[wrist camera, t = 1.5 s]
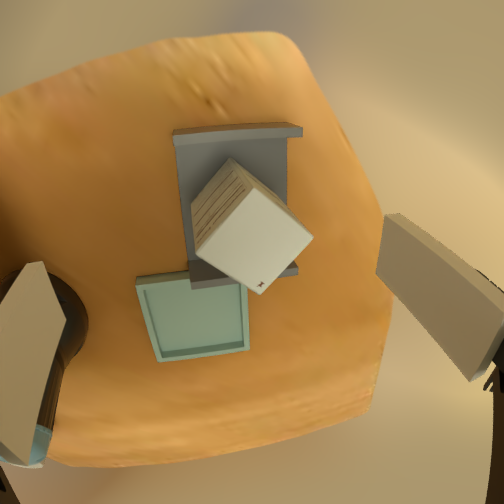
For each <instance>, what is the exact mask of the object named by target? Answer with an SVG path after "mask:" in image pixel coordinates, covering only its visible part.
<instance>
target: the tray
mask: <svg viewBox="0 0 504 504" xmlns="http://www.w3.org/2000/svg"><path fill="white" fill-rule="evenodd" d="M135 287H136V290H137V294H138V298H139V302H140V305H141V309H142V312H143V316H144V319H145V323H146V326H147V330H148V333H149V336H150V339H151V343H152V346H153V349H154V352H155V355H156V358H157V361H158V362H166V361H175V360H183V359H191V358H199V357H206V356H213V355H220V354H227V353H233V352H239V351H245V350H250V340H249V318H248V296H247V287H246V286H244V285H242V284H241V283H239V284H232V285H225V286H217V287H210V288H203V289H195V290H191V284H190V275H189V270H187V271H179V272H171V273H163V274H156V275H148V276H140V277H137V278H136V284H135Z"/></svg>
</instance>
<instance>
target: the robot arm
mask: <svg viewBox="0 0 504 504" xmlns="http://www.w3.org/2000/svg"><path fill="white" fill-rule="evenodd" d="M376 275H377V276H378V277H379V278H380V279H381V280H382V281H383V282H384V283H385V284H386V285H387V286H388V288H389V289H390V290H391V291H392V292H393V293H394V294H395V295H396V296H397V297H398V298H399V300H400V301H401V302H402V303H403V304H404V305H405V306H406V307H407V309H408V310H409V311H410V312H411V313H412V314H413V315H414V316H415V317H416V319H417V320H418V321H419V322H420V323H421V324H422V326H423V327H424V328H425V329H426V330H427V331H428V333H429V334H430V335H431V336H432V337H433V338H434V340H435V341H436V342H437V343H438V344H439V345H440V347H441V348H442V349H443V350H444V352H445V353H446V354H447V355H448V356H449V358H450V359H451V360H452V361H453V363H454V364H455V365H456V366H457V367H458V369H459V370H460V371H461V372H462V374H463V375H464V376H465V377H466V379H467V380H468V381H469V382H471V381H473V380H474V379H476V378H478V377H480V376H482V375H483V374H484V373H485V372H486V370H487V368H488V367H489V365H490V363H491V361H493V362H494V363H495V365H496V367H495V369H494V371H493V372H492V374H491V375H490V377H489V378H488V380H487V382H486V383H485V385H484V388H483V390H484V391H485V390H486V389H487V388H488V386H489V385H490V383H492V382H493V386H492V387H491V389H490V391H491V392H493V411H494V412H493V441H492V455H491V467H490V475H489V483H488V490H487V497H486V503H485V504H504V292H503V291H502V290H501V289H500V288H499V287H498V288H497V286H496V285H495V284H494V283H493V282H492V281H489V279H488V278H487V277H486V276H485V275H483V274H482V273H481V272H480V271H478V270H476V269H474V268H473V267H471V266H470V265H469V264H467V263H466V262H465V261H464V260H462V259H461V258H460V257H459V256H457V255H456V254H455V253H453V252H452V251H451V250H450V249H448V248H447V247H446V246H444V245H443V244H442V243H440V242H439V241H438V240H436V239H435V238H434V237H432V236H431V235H430V234H428V233H427V232H425V231H424V230H423V229H421V228H420V227H419V226H417V225H416V224H414V223H413V222H411V221H410V220H409V219H407V218H406V217H404V216H403V215H401V214H400V213H397V214H388V215H385V216H384V224H383V231H382V238H381V244H380V250H379V257H378V262H377V268H376ZM87 330H88V318H87V314H86V311H85V308H84V306H83V304H82V302H81V300H80V299H79V297H78V296H77V295H76V293H75V292H74V291H73V290H72V289H71V288H70V287H69V286H68V285H67V284H65V283H64V282H63V281H61V280H60V279H58V278H57V277H55V276H53V275H51V274H49V273H47V271H46V269H45V266H44V263H43V261H39V262H33V263H27V264H26V265H25V267H24V268H23V269H20V270H16V271H14V272H12V273H10V274H9V275H7V276H6V277H5V278H4V280H3V281H2V282H1V284H0V461H3V462H7V463H11V464H16V465H23V466H28V465H35V464H38V463H40V462H41V461H43V460H44V458H45V457H46V454H47V450H48V446H49V441H50V438H51V437H52V431H53V425H54V418H55V413H56V407H57V402H58V397H59V392H60V387H61V382H62V378H63V374H64V370H65V368H66V367H67V366H68V364H69V363H70V361H71V359H72V358H73V357H74V356H75V355H76V354H77V353H78V352H79V351H80V349H81V348H82V346H83V344H84V341H85V338H86V334H87ZM0 504H20V502H19V500H18V499H17V497H16V495H15V493H14V491H13V489H12V487H11V485H10V484H9V481H8V479H7V477H6V475H5V473H4V471H3V469H2V468H1V466H0Z"/></svg>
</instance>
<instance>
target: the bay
mask: <svg viewBox="0 0 504 504" xmlns="http://www.w3.org/2000/svg"><path fill="white" fill-rule="evenodd" d="M289 137H303V127H300V126H297V125H294V124H291V123H287V122H275V123H249V124H232V125H218V126H206V127H195V128H186V129H177V130H174V131H173V145H174V146H175V152H176V162H177V172H178V182H179V191H180V200H181V209H182V217H183V225H184V233H185V241H186V248H187V256H188V264H189V275H190V284H191V290H195V289H203V288H210V287H217V286H225V285H232V284H239V282H238V281H236V280H234V279H232V278H231V277H229V276H228V275H226V274H225V273H223V272H222V271H220V270H219V269H217V268H216V267H214V266H212V265H211V264H209V263H208V262H206V261H204V260H203V259H201V258H200V257H198V256H197V255H196V254H195V243H194V234H193V224H192V214H191V203H192V202H193V201H194V199H195V198H196V197H197V196H198V194H199V193H200V192H201V191H202V189H203V188H204V187H205V186H206V185H207V183H208V182H209V181H210V180H211V179H212V177H213V176H214V175H215V174H216V173H217V171H218V170H219V169H220V168H221V167H222V166H223V164H224V163H225V162H226V161H227V160H228V158H229V157H231V158H233V159H234V160H235V161H236V162H237V163H238V164H240V165H241V166H242V167H243V168H245V169H246V170H247V171H248V172H249V173H251V174H252V175H253V176H254V177H256V178H257V179H258V180H259V181H260V182H262V183H263V184H264V185H265V186H266V187H268V188H269V189H270V190H271V191H273V192H274V193H275V194H276V195H277V196H278V197H279V198H280V199H281V200H282V201H283V203H284V204H285V205H286V206H287V138H289ZM293 275H298V266H297V265H296V263H295V262H294V260H293V261H292V262H291V263H290V264H289V265H288V266H287V267H286V268H285V270H284V271H283V272H282V273H281V274H280V275H279V276H278V277H277V278H280V277H287V276H293Z"/></svg>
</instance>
